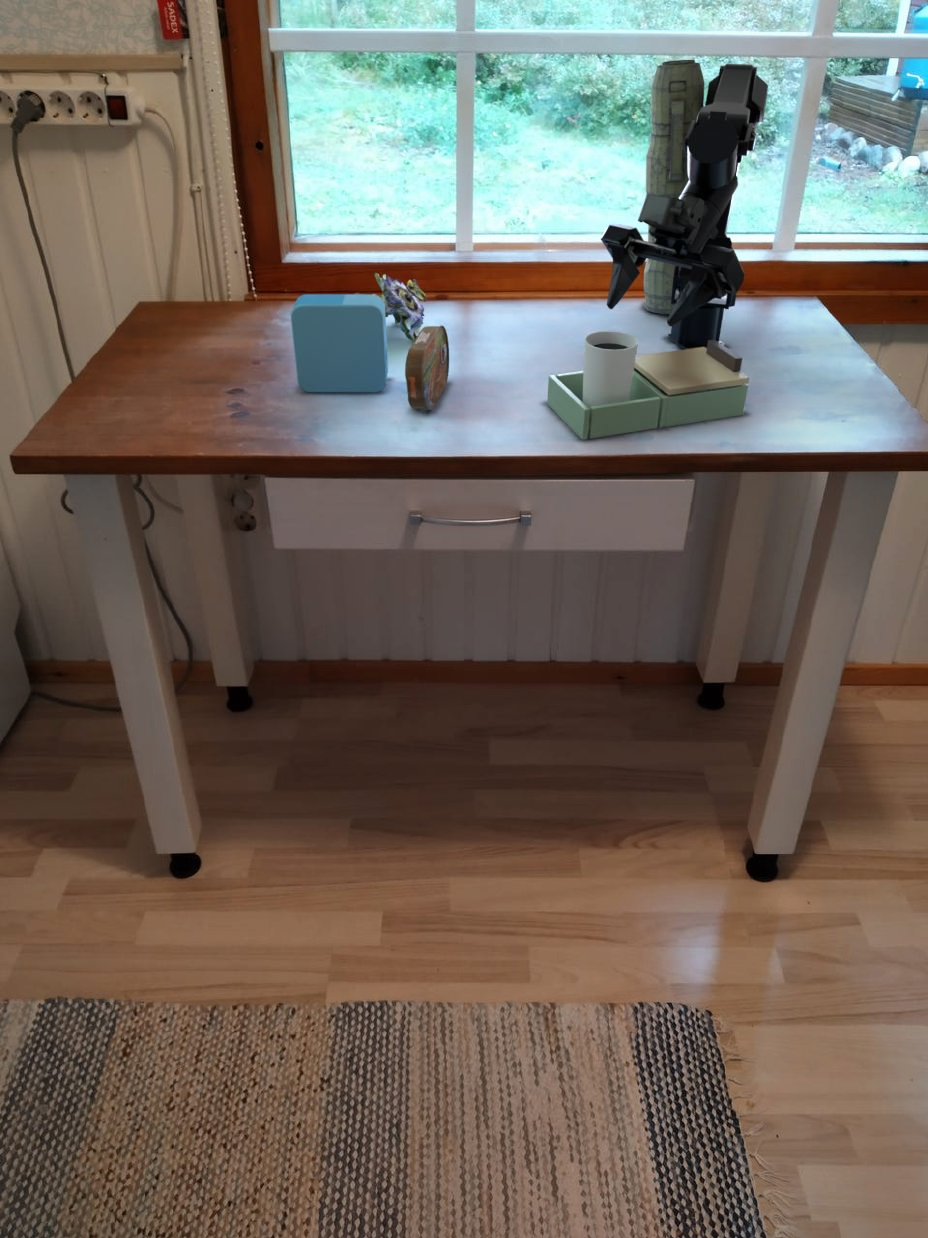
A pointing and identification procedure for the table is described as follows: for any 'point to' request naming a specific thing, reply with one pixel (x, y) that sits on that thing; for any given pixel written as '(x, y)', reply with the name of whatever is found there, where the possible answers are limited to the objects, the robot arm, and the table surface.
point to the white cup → (608, 367)
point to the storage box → (639, 406)
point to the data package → (340, 343)
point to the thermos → (669, 157)
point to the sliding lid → (693, 368)
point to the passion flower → (402, 304)
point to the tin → (427, 367)
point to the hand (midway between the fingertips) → (638, 315)
